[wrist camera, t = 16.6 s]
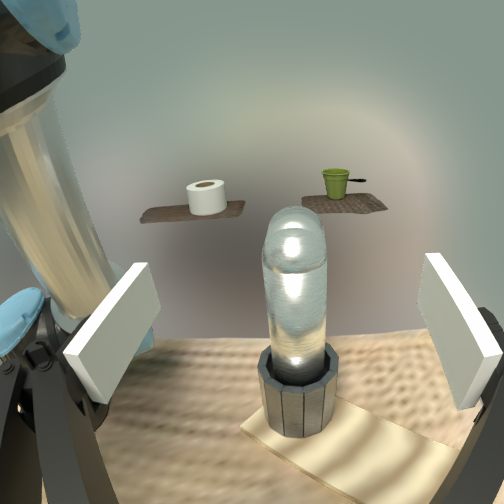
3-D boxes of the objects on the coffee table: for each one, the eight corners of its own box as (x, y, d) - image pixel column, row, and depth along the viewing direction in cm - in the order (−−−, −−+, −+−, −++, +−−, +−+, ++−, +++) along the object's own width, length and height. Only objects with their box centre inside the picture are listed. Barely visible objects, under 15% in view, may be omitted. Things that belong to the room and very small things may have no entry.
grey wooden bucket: (251, 415, 44) (242, 368, 39) (293, 376, 50) (291, 326, 45) (304, 449, 38) (306, 406, 33) (345, 403, 44) (352, 354, 39)
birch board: (241, 430, 43) (239, 425, 42) (295, 380, 51) (295, 375, 50) (416, 530, 24) (419, 527, 23) (456, 455, 32) (460, 450, 31)
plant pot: (354, 200, 126) (354, 173, 121) (326, 203, 126) (325, 175, 121) (345, 192, 137) (345, 167, 132) (319, 194, 137) (318, 169, 132)
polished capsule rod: (323, 396, 37) (328, 241, 27) (271, 396, 38) (254, 243, 28) (322, 346, 45) (323, 204, 35) (278, 347, 46) (265, 207, 36)
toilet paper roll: (229, 201, 141) (226, 177, 136) (223, 214, 127) (219, 187, 122) (195, 204, 143) (191, 181, 138) (185, 217, 129) (181, 191, 124)
